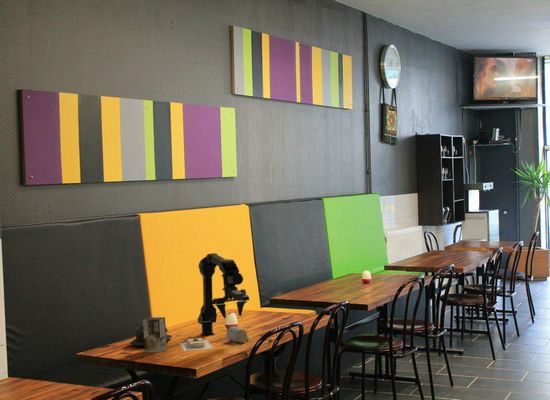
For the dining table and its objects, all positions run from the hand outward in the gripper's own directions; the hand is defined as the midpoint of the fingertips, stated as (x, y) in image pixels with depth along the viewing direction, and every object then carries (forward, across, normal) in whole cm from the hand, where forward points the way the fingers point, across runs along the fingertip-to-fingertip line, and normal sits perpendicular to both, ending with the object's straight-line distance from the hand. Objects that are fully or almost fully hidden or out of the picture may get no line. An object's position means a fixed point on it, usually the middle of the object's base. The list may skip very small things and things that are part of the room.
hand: (232, 317), depth 364 cm
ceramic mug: (+13, +7, +6) cm, 16 cm away
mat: (+12, -14, +13) cm, 23 cm away
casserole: (+10, -26, +37) cm, 46 cm away
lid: (+12, -14, +13) cm, 23 cm away
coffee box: (+12, -33, +20) cm, 41 cm away
